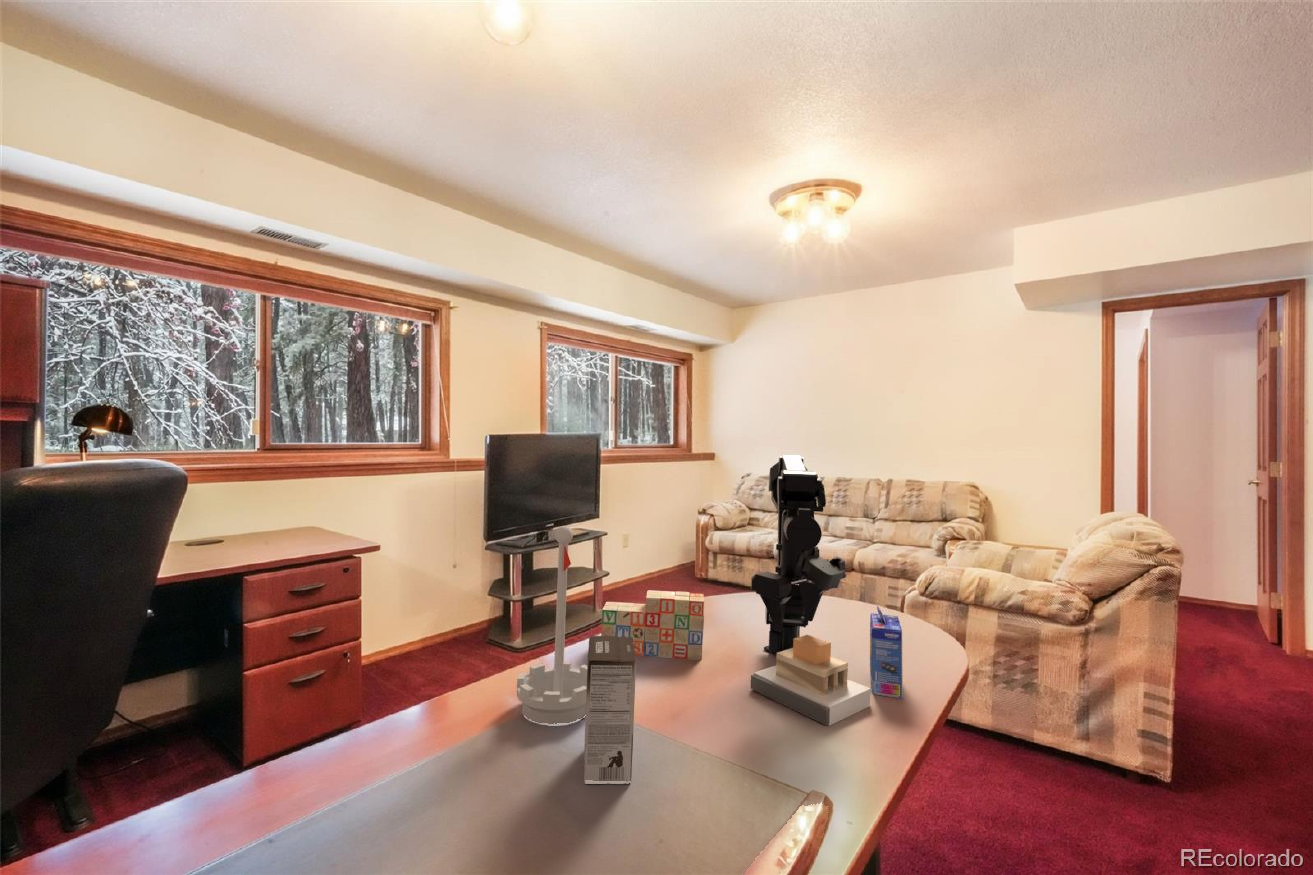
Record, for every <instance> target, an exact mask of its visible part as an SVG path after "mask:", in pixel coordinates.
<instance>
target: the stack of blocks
mask: <svg viewBox="0 0 1313 875" xmlns="http://www.w3.org/2000/svg"><path fill="white" fill-rule="evenodd" d="M704 608H705V595H704V593H697V592H696V593H693V592H688V591H677V590H676V591H668V590H667V591H666V590H662V591H661V590H652V589H651V590H650V589H649V590H647V591H646V596H645V603H635V602H618V601H606V602H605V604H604V606H603V607H602V610H601V631H600V632H601V634H600V636H617V637H632V638H633V643H634V649H635V656H637V657H638V656H640V657H655V658H671V659H681V660H683V659H685V660H700V661H701V660H702V659H703V640H704V627H705V626H704V624H705V611H704Z"/></svg>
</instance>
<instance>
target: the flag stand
mask: <svg viewBox="0 0 1313 875" xmlns="http://www.w3.org/2000/svg"><path fill="white" fill-rule="evenodd" d="M554 533H555V534H554V538H555V540H556V541H557V542H558V560H557V561H558V562H557V564H558V565H557V585H556V586H557V587H556V588H557V589H556V609H555V610H556V612H555V613H556V614H555V637H554V640H555V641H554V660H553V661H554V662H553V663H554V664H553V668H546V667H545V666H546V665H545V664H544V663H538V664H535V665H532V666H529V673H526V672H520V673H519V675H518V676H517V678H516V697H517V699H518V700H519V701H520V702H521V703H522V715H523V714H524V715H525V716H526V717H527V718H528V719H531V720H532V721H535V722H538V723H548V724H554V723H555V724H557V723H570V722H573V721H576V720H577V719H581V718H583V717H584V716H585V715H586V690H587V665H588V664H587V665H586V664H582V665H580V667H579V668H580V669H576V668H572V661H565V638H566V615H567V614H566V613H567V588H568V585H567V584H568V568H569V567H570V566H571V565H572V563H571V560H570V557H569V543H570V542H571V541H572V540H573V537H574V532H573V530H572V528H571V527H570V526H567V525H562V526H559V527H558V528H557V529H556V531H555V532H554Z"/></svg>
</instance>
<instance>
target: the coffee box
mask: <svg viewBox="0 0 1313 875" xmlns="http://www.w3.org/2000/svg"><path fill="white" fill-rule="evenodd" d="M636 666H637V658H636V655H635V649H634V643H633V638H632V637H617V636H601V635H591V636H589V637H588V650H587V690H586V716H585V718H584V753H583V754H584V757H583V758H584V762H583V763H584V764H583V765H584V766H583V767H584V768H583V769H584V770H583V781H584V780H593V781H626V782H628V781H631V782H632V777H633V776H632V771H633V750H634V748H633V747H634V746H633V745H634V727H635V726H634V724H635V723H634V722H635V700H636V699H635V698H636V696H635V694H636V674H637V673H636V671H637V670H636V668H637V667H636Z"/></svg>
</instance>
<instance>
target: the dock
mask: <svg viewBox="0 0 1313 875" xmlns="http://www.w3.org/2000/svg"><path fill="white" fill-rule="evenodd" d="M749 687H750V689H751V690H753V691H754V692H757V693H758V694H760V695H762V696H765V697H766V698H769V699H772V700H773V701H775V702H778V703H780V704H781V705H784V706H786V707H788V708H789V709H792V710H794V711H795V712H798V713H800V714H802V715H804V716H807V717H808V718H811V719H812V720H814V721H817V722H819V723H821V724H823V725H825V726H829V727H830V726H832V725H833V724H836V723H838V722H840V721H842V720H845V719H846V718H849V717H850V716H853V715H854V714H857V713H859V712H862V711H863V710H865V709H868V708H869V707H871V694H872V692H871V687H868V686H866V685H863V684H860V683H858V682H855V681H853V680H850V679H848V678H847V686H845V687H841V686H839V685H838V690H836V691H831V690H829V689H828V692H827V694H826V695H824V696H822V695H820V694H818V693H816V692H813V691H811V690H809V689H806V688H804V687H802V686H800V685H797V684H795V683H793V682H791V681H788V680H786V679H784V678H781V677H779V676H777V675H776V665H773V666H769V667H767V668H764V669H761V670H758V671H755V672H753V674H750V686H749Z"/></svg>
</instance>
